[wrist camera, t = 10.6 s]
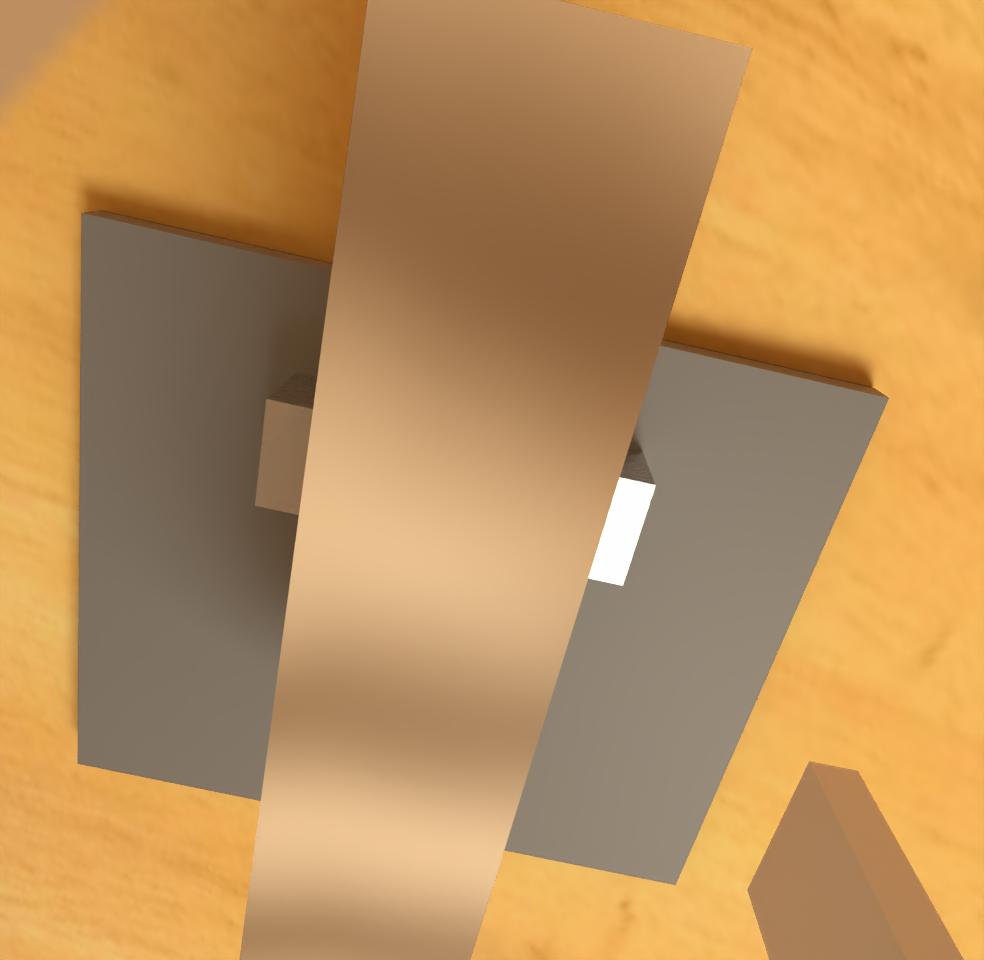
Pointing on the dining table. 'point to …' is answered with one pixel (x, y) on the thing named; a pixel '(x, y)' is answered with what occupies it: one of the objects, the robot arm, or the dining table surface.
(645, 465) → the fulcrum ridge
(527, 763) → the beech bar
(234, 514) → the slate board
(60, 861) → the dining table surface
